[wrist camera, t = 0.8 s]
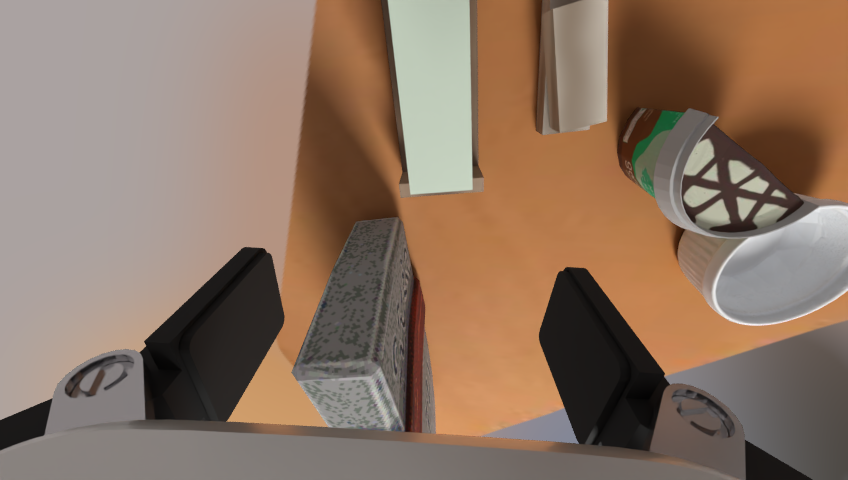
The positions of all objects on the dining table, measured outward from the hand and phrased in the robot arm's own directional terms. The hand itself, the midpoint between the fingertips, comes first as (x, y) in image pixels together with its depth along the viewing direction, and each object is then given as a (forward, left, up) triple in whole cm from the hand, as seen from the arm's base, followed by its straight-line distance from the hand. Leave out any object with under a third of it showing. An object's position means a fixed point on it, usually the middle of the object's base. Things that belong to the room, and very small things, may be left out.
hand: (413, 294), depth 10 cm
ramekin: (-32, +13, -23) cm, 42 cm away
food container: (-21, +4, -23) cm, 32 cm away
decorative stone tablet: (+5, +21, -23) cm, 32 cm away
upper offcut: (-12, -5, -21) cm, 25 cm away
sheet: (-1, -5, -23) cm, 24 cm away
